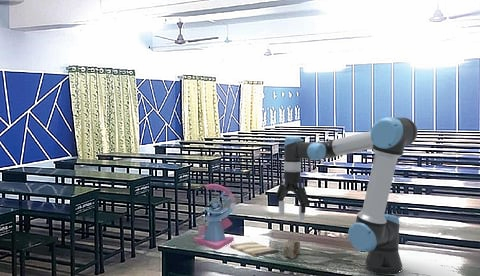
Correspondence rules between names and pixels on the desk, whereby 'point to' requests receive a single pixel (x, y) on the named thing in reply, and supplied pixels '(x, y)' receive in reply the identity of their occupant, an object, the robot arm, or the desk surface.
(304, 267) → the desk surface
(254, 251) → the board
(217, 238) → the trophy
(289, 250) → the rock
